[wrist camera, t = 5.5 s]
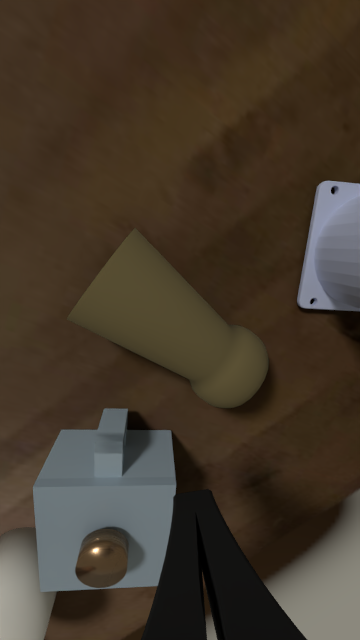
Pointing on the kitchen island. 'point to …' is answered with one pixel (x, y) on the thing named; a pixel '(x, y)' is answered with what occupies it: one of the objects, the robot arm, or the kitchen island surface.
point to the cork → (171, 325)
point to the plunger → (102, 558)
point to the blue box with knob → (105, 499)
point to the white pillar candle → (22, 588)
